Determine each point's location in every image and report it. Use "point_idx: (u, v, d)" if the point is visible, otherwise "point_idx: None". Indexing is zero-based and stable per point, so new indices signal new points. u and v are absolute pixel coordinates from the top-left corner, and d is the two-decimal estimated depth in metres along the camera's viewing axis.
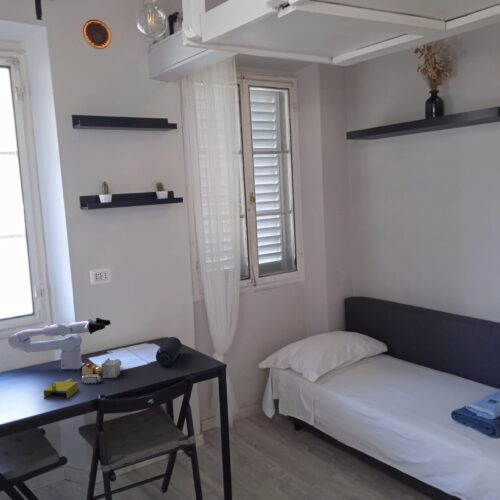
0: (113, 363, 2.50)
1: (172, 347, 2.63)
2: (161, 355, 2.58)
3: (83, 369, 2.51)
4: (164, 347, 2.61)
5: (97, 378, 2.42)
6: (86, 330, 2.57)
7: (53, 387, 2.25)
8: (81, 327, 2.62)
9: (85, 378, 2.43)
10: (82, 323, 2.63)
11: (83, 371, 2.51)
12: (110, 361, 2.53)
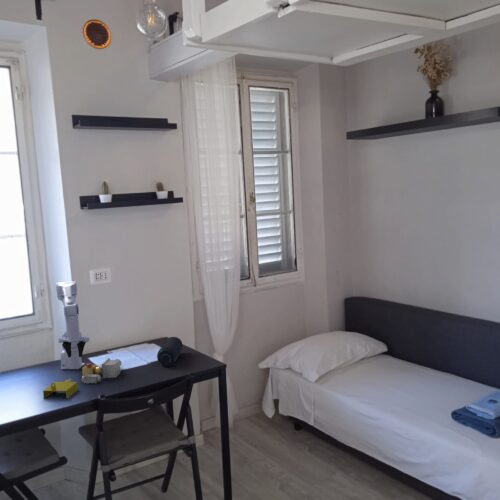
0: (113, 363, 2.50)
1: (173, 347, 2.64)
2: (163, 355, 2.58)
3: (83, 369, 2.51)
4: (165, 347, 2.61)
5: (97, 378, 2.43)
6: None
7: (53, 387, 2.25)
8: None
9: (85, 378, 2.43)
10: (67, 333, 2.50)
11: (83, 371, 2.51)
12: (110, 361, 2.53)
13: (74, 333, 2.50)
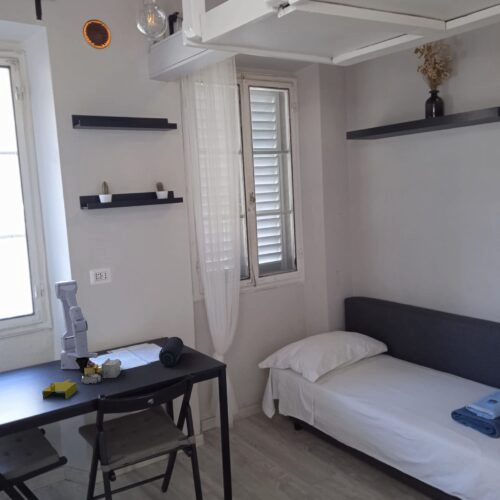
0: (113, 363, 2.50)
1: (175, 347, 2.64)
2: (164, 355, 2.58)
3: (85, 369, 2.51)
4: (167, 347, 2.61)
5: (97, 378, 2.43)
6: None
7: (52, 388, 2.25)
8: None
9: (85, 378, 2.42)
10: (76, 349, 2.51)
11: (85, 371, 2.51)
12: (110, 361, 2.53)
13: (83, 349, 2.50)
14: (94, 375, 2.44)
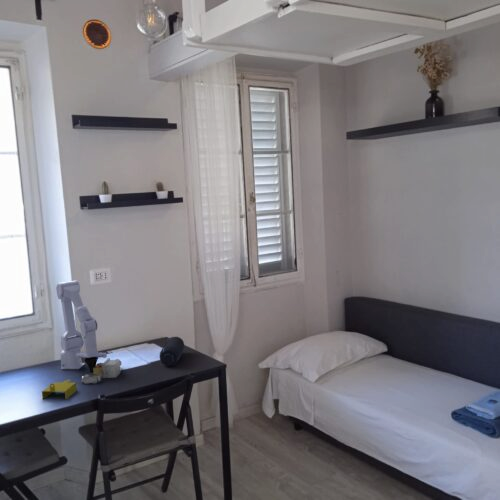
0: (113, 363, 2.50)
1: (176, 347, 2.64)
2: (165, 355, 2.58)
3: (94, 369, 2.50)
4: (168, 347, 2.61)
5: (97, 378, 2.43)
6: None
7: (51, 388, 2.24)
8: None
9: (85, 378, 2.42)
10: (85, 349, 2.50)
11: (94, 371, 2.51)
12: (110, 361, 2.53)
13: (92, 349, 2.50)
14: (94, 375, 2.44)
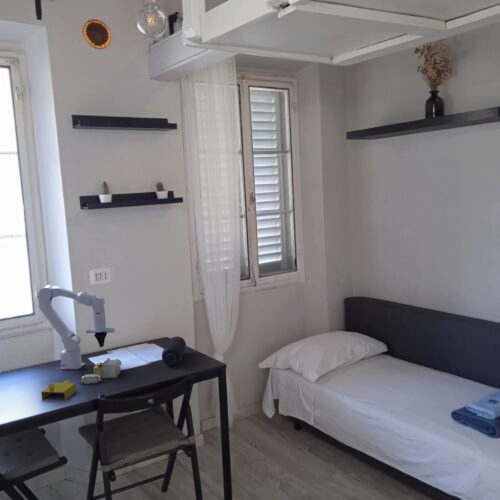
0: (113, 363, 2.50)
1: (178, 346, 2.64)
2: (167, 354, 2.59)
3: (94, 369, 2.50)
4: (170, 346, 2.61)
5: (98, 378, 2.43)
6: None
7: (51, 388, 2.24)
8: None
9: (85, 378, 2.42)
10: (94, 324, 2.65)
11: (94, 371, 2.51)
12: (110, 361, 2.53)
13: (101, 324, 2.65)
14: (94, 375, 2.44)
